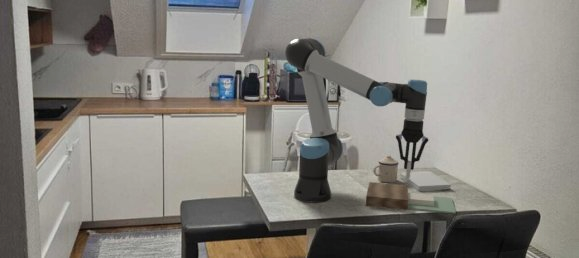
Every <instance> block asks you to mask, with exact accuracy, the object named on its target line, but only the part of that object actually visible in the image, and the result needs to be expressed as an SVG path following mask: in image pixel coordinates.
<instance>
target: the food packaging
mask: <svg viewBox="0 0 579 258" xmlns="http://www.w3.org/2000/svg"><path fill="white" fill-rule="evenodd" d="M399 177H400V178H402V181H403V182H405V183H406V184H408V185H409V186H410V187H411V188H413V189H415V190H416V191H418V192H435V191H438V192H439V191H443V190H451V185H452V184H451V183H449V182H447V181H445V180H444V179H443V178H442V177H440V176H439V175H437V174H435V173H433V172H431V171H430V170H429V171H428V170H427V171H426V170H425V171H424V170H423V171H410V178H406V172H399Z"/></svg>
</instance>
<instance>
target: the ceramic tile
mask: <svg viewBox="0 0 579 258" xmlns="http://www.w3.org/2000/svg"><path fill="white" fill-rule="evenodd" d="M433 196H434V195H433V194H424V193H413V192H412V193H411V192H408V204H417V205H428V206H434V198H433Z"/></svg>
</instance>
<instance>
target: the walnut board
mask: <svg viewBox="0 0 579 258" xmlns="http://www.w3.org/2000/svg"><path fill="white" fill-rule="evenodd" d="M408 185H409V184H408ZM408 185H405V184H397V183H396V184H395V183H386V182H371V181H369V182H368V187H367V192H366V195H365V199H366V200H365V207H374V208H384V209H385V208H386V209H392V210H393V209H396V210H404V211H405V210H406V211H408V209H407V208H408V193H409V191H408V189H409V187H408Z"/></svg>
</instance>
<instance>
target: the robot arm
mask: <svg viewBox="0 0 579 258" xmlns="http://www.w3.org/2000/svg"><path fill="white" fill-rule="evenodd" d="M284 53H285V59H286V61H287V62H288V64H289V65H290V66H292V67H294V68H295V69H296V71H297V74H298V75H299V76H301V79H302V84H303V89H304V94H305V99H306V105H307V110H308V116H309V121H310V125H311V134H310V135H309V138H306V139H304V140H302V141H301V143H300V146H299V147H300V148H299V165H298V167H299V169H298V172H299V174H298V179H297V182H296V185H295V188H294V191H293V193H294V194H293V198H295V199H296V200H298V201H302V202H306V203H323V202H327V201H329V200H331V199H332V191H331V188H330V184H329V180H328V179H329V177H328V175H329V166H330V165H333V164H335V163H337V162H338V160H339V159H340V158H341V157H342V155H343V151H344V146H343V142H342V140H341V139H340V138H338V132H337V131H336V129H335V128H333V125H332V121H331V115H330V110H329V104H328V99H327V93H326V88H325V84H324V83H325V82H324V80H327V81H329V82H332V83H333V84H336V85H337V86H340V87H342V88H344V89H345V90H349V91H350V92H353V93H355V94H356V95H359V96H360V97H363V98H365V99H367V100H369V101H370V102H371V103H372V105H374V106H376V107H385V106H386V107H387V106H388V105H389V104H392V103H398V104H399V103H401V104H405V108H404V120H403V125H402V126H403V127H402V131H401V132H400V133H399V134H396V135H395V139H396V140H397V145H398V151H399V157H400V160H402V161H404V163H403V169H404V170H406V178H410V172H412V171H413V170H414V169H415V168H414V167H415V162H419V161H420V160H421V156H422V155H423V151H424V149H425V146H426V144H427V143H428V142H429V138H428V137H426V136H425V135H424V132H423V130H424V120H425V112H426V111H425V110H426V104H427V103H426V102H427V94H428V82H427V81H426V80H422V79H408V81H407V83H397V82H389V81H376V80H375V79H373V78H371V77H369V76H366V75H364V74H362V73H360V72H357V71H356V70H353V69H352V68H349V67H348V66H345V65H343V64H341V63H339V62H338V61H334V60H333V59H330V58H328V57H326V49H325V46H324V44H323V43H322V42H321V41H319V40H317V39H315V38H310V37H309V38H308V37H307V38H296V39H295V38H294V39H293V40H291V41H289V43H288V44H287V45H286V48H285V52H284ZM402 137H403V138H402ZM402 139H403V140H404V141H405V142H406V143H405V144H406V146H405V155H404V153H403V152H404V151H403V146H402V145H403V144H402ZM420 140H421V141H422V142H421V144H420V147H419V149H418V152H417V155H416V151H417V143H419V141H420ZM411 143H412V149H411V160H409V153H410V144H411ZM411 170H412V171H411Z"/></svg>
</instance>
